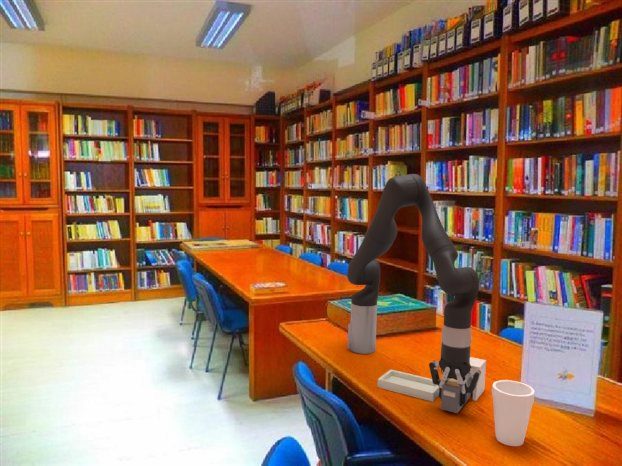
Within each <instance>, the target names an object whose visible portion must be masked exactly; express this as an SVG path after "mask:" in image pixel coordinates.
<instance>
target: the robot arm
mask: <svg viewBox="0 0 622 466" xmlns="http://www.w3.org/2000/svg"><path fill="white" fill-rule="evenodd" d="M379 199H380V200H379V202H378V206H377V209H376V211H375V213H374V216H373V218H372V220H371V222H370V224H369V226H368V228H367V230H366V232H365V235H364V237H363V239H362V241H361V244H360V245H359V248H358V249H357V251H356V252H355V254H354V255H353V257H352V258H351V260H350V261H349V263H348V266H347V269H346V270H347V271H346V276H347V277H346V278H347V281H348V282H349V283H350V284H352V285H354V286H355V285H356V286H364V287H363V288H362V289H361V290H360V291H357V292H355V293H352V295H351V301H350V302H351V303H350V322H349V323H348V324H347V350H350V351H351V352H353V353H355V354H361V355H367V354H372V353H373V354H374V353H375V352H376V346H377V345H376V343H377V321H378V320H377V318H378V317H377V316H378V315H377V314H378V300H379V292H380V281H381V266H380V263H379V261H378V260H377V259H378V258H379V257H382V256H383V255H384V254H385V253H387V252H388V251H389V250H390V248H391V247H392V246H393V244H394V242H395V240H396V238H397V235H398V226H397V223H396V221H395V215H396V214H397V212H398V210H400V209H401V208H407V207H411V206H415V207H416V209H417V210H418V212H419V213H420V215H421V240H422V244H423V246H424V248H425V251H427V254H428V255H429V257H430V259H431V260H432V263H433V267H434V271H435V275H436V278H437V283H438V285H439V287H440V289H441V290H442V292H444V293H445V294H446V295H448V296H453V299H452V300H451V301H450V302H447V303H446V305H445V306H444V309H443V323H442V324H443V327H442V330H441V344H440V345H441V346H440V347H441V348H440V359H439V360H438V361H436V360H431V361H430V363H428V366H429V371H430V372H429V373H430V376H431V379H432V381H433V384H436V385H438V386H439V396H438V398H439V399H440V400H441V394H442V385H443V384H445V382H446V381H448V379H455V380H458V384H459V385H460V388H461V393H460V406H462V408H463V407H464V406H465V405H466V404H467V401H468V400H467V393H471V394H473V391H474V390H475V388H476V385H477V383H478V380H479V377H480V375H481V371H480V370H477V371H476V370H474V369H472V368H471V365H470V357H471V345H472V313H473V308H474V307H475V304H476V300H477V297H478V293H479V290H480V278H479V275H478V273H477V271H476V270H475V269H473V268H472V267H468V266H463V267H456V266H455V264H454V263H455V262H456V260H457V259H458V257H459V252H458V251H457V249H456V246H455V244H454V243H453V242H452V240H451V238H450V237H449V235H448V234H447V232H446V230H445V227H444V226H443V224H442V222H441V219H440V216H439V215H438V211H437V209H436V206H435V204H434V201H433V198H432V196H431V193H430V191H429V189H428V186H427V184H426V182H425V181H424V179H423V177H422V176H420V174H417V173H409V174H403V175H395V176H392V177H390V178H389V179H388V180H387V181H386V183H385V184H384V188H383V190H382V194H381V197H380V198H379ZM439 367H440V369H441V372H442V371H443V373H442V376H441V378H440V374H439V370H438V369H439ZM469 372H470V373H471V377H472V378H473V379H472V381H471V384H470V386H467V379H466V375H467V374H468V373H469ZM463 405H464V406H463Z"/></svg>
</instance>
